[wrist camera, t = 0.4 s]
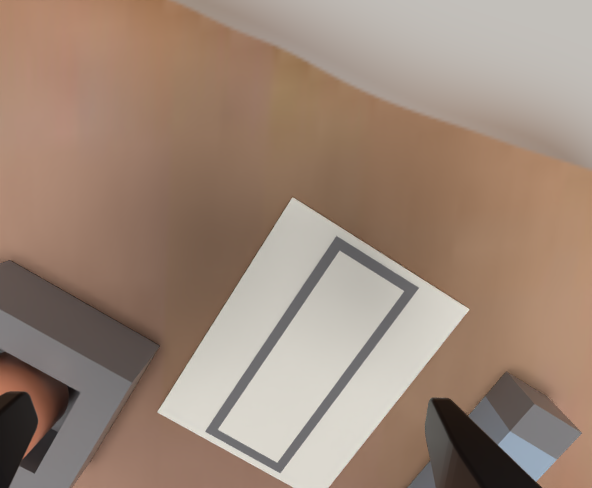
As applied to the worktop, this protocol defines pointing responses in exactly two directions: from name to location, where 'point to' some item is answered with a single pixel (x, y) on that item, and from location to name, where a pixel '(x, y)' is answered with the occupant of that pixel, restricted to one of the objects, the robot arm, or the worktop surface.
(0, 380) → the button
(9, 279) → the button housing
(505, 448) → the rectangular block
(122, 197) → the worktop surface
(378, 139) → the worktop surface
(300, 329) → the paper sheet
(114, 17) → the worktop surface
